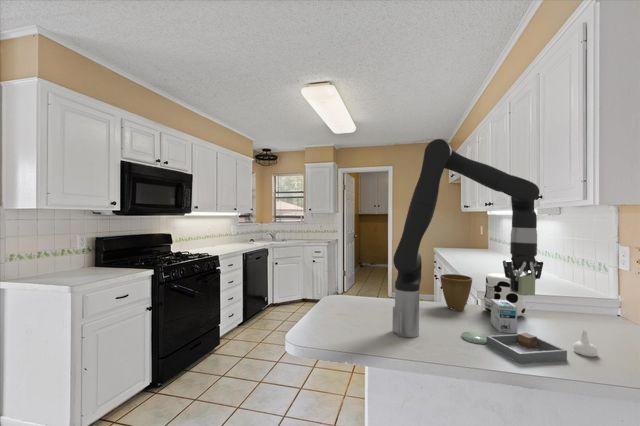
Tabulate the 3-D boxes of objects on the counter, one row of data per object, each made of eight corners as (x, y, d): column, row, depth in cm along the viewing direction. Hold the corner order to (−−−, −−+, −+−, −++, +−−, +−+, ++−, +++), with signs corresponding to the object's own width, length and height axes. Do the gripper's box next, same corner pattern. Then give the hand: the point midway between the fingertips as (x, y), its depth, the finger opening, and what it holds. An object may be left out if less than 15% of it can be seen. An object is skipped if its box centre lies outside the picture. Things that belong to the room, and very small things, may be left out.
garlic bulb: (597, 355, 105) (597, 331, 105) (597, 359, 100) (597, 334, 101) (573, 349, 109) (573, 326, 110) (572, 353, 104) (573, 329, 105)
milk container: (528, 314, 148) (528, 276, 148) (522, 323, 135) (522, 281, 135) (488, 306, 159) (488, 271, 159) (479, 314, 146) (479, 276, 146)
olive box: (521, 295, 101) (522, 277, 101) (509, 291, 106) (510, 274, 106) (535, 295, 102) (535, 277, 102) (522, 291, 107) (523, 274, 107)
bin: (519, 363, 96) (519, 353, 96) (486, 344, 111) (486, 335, 111) (566, 359, 99) (566, 350, 99) (528, 341, 114) (528, 333, 114)
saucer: (473, 344, 110) (473, 342, 110) (456, 334, 120) (456, 332, 120) (497, 343, 112) (497, 341, 112) (479, 333, 121) (479, 331, 121)
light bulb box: (517, 334, 121) (518, 306, 122) (499, 332, 123) (499, 305, 123) (507, 324, 132) (507, 299, 132) (490, 323, 133) (490, 298, 133)
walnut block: (528, 349, 107) (528, 337, 107) (518, 344, 111) (518, 333, 111) (536, 348, 109) (537, 336, 109) (525, 343, 112) (526, 332, 112)
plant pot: (437, 303, 163) (437, 273, 163) (467, 305, 160) (467, 274, 160) (442, 311, 149) (443, 278, 149) (475, 314, 146) (476, 280, 146)
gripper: (513, 241, 99) (512, 294, 99) (551, 242, 101) (550, 293, 101) (496, 239, 106) (495, 289, 106) (532, 240, 109) (531, 288, 109)
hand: (522, 291), depth 104 cm, fingers closed on olive box, 5 cm apart
